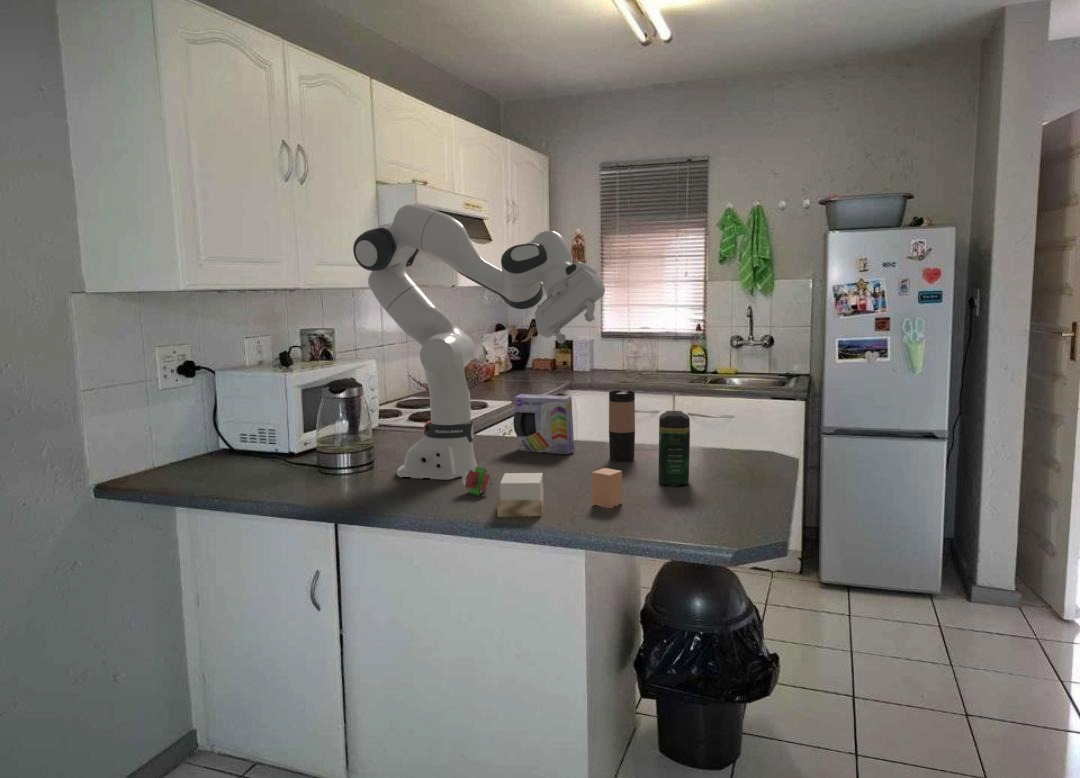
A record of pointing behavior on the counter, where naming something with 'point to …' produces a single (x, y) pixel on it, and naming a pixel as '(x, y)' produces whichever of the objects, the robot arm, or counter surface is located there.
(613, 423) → the travel mug
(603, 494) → the pillar
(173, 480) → the counter surface
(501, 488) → the tower top
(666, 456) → the coffee jar
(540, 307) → the robot arm
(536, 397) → the cake pan box
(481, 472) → the geometric puzzle
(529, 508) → the tower base
